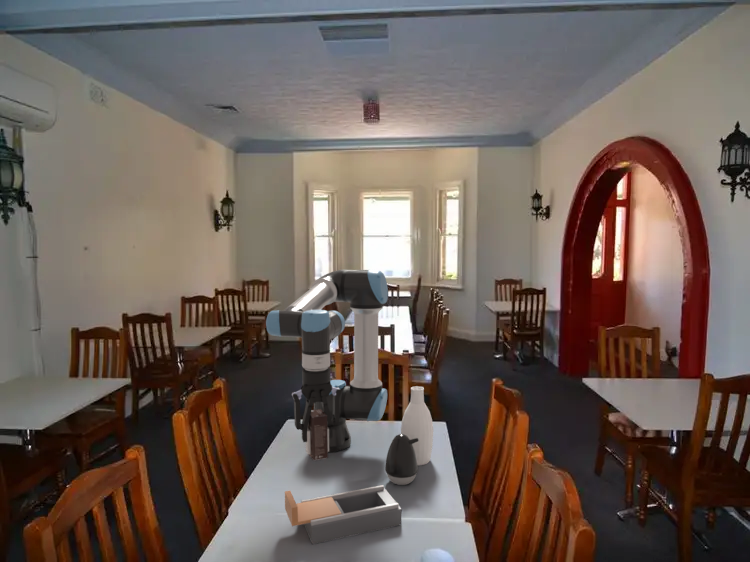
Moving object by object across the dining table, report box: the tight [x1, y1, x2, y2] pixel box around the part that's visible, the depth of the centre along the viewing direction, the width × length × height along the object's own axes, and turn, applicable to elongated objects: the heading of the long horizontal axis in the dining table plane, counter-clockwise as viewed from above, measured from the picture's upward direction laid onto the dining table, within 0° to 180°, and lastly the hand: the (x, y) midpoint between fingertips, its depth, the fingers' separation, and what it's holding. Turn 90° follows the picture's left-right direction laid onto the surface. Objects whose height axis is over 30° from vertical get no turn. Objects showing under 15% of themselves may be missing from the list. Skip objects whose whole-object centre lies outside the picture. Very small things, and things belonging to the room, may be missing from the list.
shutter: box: [284, 490, 341, 527], centre depth 139 cm, size 9×13×5 cm
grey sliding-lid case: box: [300, 484, 402, 545], centre depth 143 cm, size 13×24×6 cm, turn 111°
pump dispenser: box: [384, 433, 419, 486], centre depth 165 cm, size 10×10×15 cm
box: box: [308, 409, 329, 461], centre depth 144 cm, size 6×4×12 cm
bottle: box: [400, 385, 434, 466], centre depth 180 cm, size 11×11×25 cm
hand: (317, 451), depth 144 cm, fingers closed on box, 4 cm apart
